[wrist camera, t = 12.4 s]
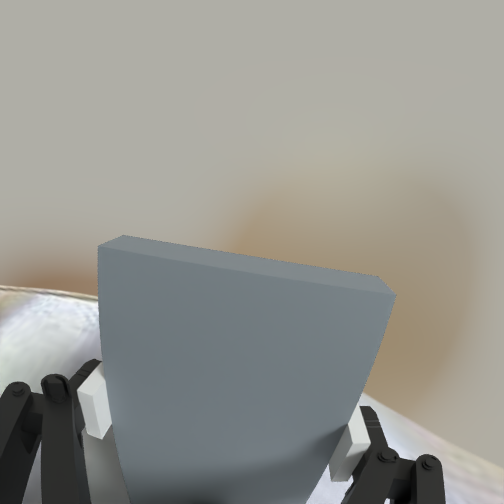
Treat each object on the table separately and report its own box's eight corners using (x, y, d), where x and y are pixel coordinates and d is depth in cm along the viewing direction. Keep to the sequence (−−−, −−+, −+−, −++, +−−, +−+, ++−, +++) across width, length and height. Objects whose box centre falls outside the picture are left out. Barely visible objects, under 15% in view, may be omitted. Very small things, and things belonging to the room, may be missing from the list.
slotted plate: (133, 510, 14) (97, 245, 10) (141, 490, 16) (123, 235, 12) (282, 537, 14) (396, 294, 9) (283, 516, 16) (378, 276, 11)
